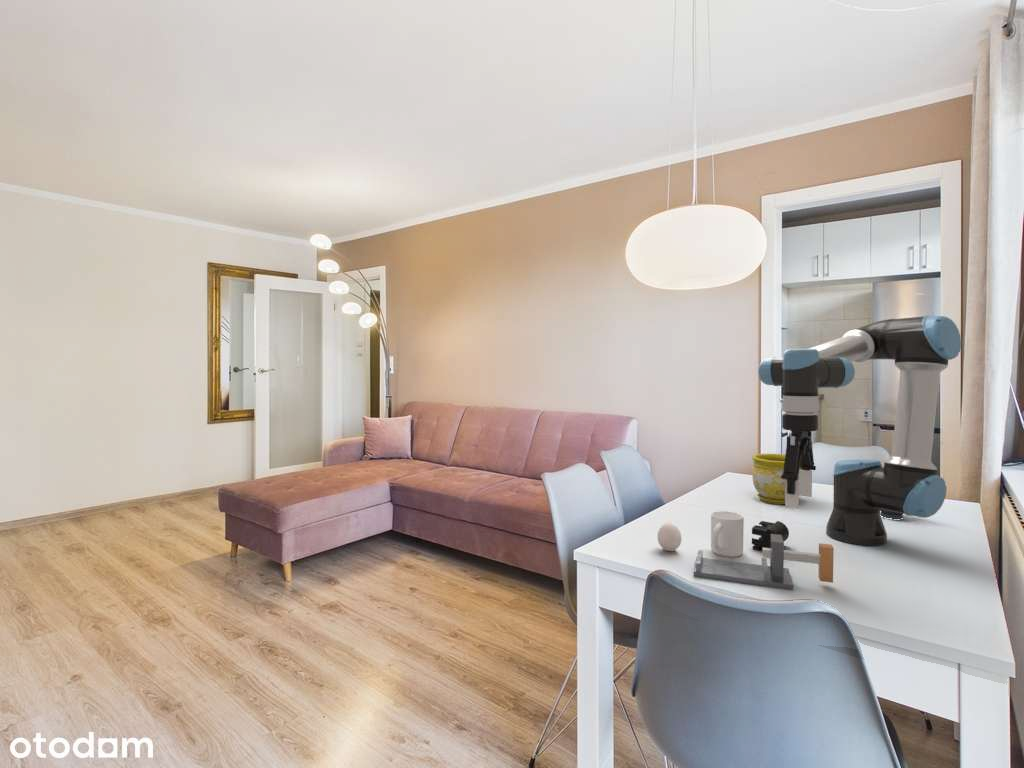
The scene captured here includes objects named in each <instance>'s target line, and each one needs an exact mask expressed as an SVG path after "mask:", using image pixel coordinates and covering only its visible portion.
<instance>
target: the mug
mask: <svg viewBox="0 0 1024 768" xmlns="http://www.w3.org/2000/svg"><path fill="white" fill-rule="evenodd" d="M744 519H745V518H744V515H743V514H741V513H737V512H736V511H735V512H734V511H728V510H718V511H712V512H711V513H710V549H711V552H713V553H714V554H715V555H717V556H718V555H719V556H722V557H726V558H736V557H741V556H742V555H743V553H744V525H745V524H744V522H745V521H744Z"/></svg>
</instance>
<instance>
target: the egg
mask: <svg viewBox="0 0 1024 768" xmlns="http://www.w3.org/2000/svg"><path fill="white" fill-rule="evenodd" d="M657 542H658V544H659V546H660V547H661V548H662V549H663V550H665V551H667V552H674V551H676V550H678V548H679V547H680V546H681V544H682V534H681V531H680V529H679V527H678V526H677V525H676V524H675V523H673V522H671V521H670V522H665V523H663V524H661V526H660V528H659V530H658V531H657Z"/></svg>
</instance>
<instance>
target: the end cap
mask: <svg viewBox="0 0 1024 768" xmlns="http://www.w3.org/2000/svg"><path fill="white" fill-rule="evenodd" d="M789 532H790V530H789V528H788V527H787V525H786V524H784V523H783V522H782V521H779V520H776V522H769V521H764V520H761V521H760V522H758V525H757V524H755V525H754V526H752V528H751V535H755V536H759V537H758V538H754V537H751V544H752V545H753V546H752V547H751V549H752V550H755V551H759V552H762V551H763V548H771V534H777V535H782V538H783V542H784V543H785V542H786V541H787V540H788V538H789V536H790V533H789Z"/></svg>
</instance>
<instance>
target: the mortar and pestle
mask: <svg viewBox="0 0 1024 768" xmlns="http://www.w3.org/2000/svg"><path fill="white" fill-rule="evenodd" d="M880 515H881V516H883V517H886V518H892V519H901V518H903V519H904V514H903V513H898V512H894V511H890V510H885V509H881V508H880Z"/></svg>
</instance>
